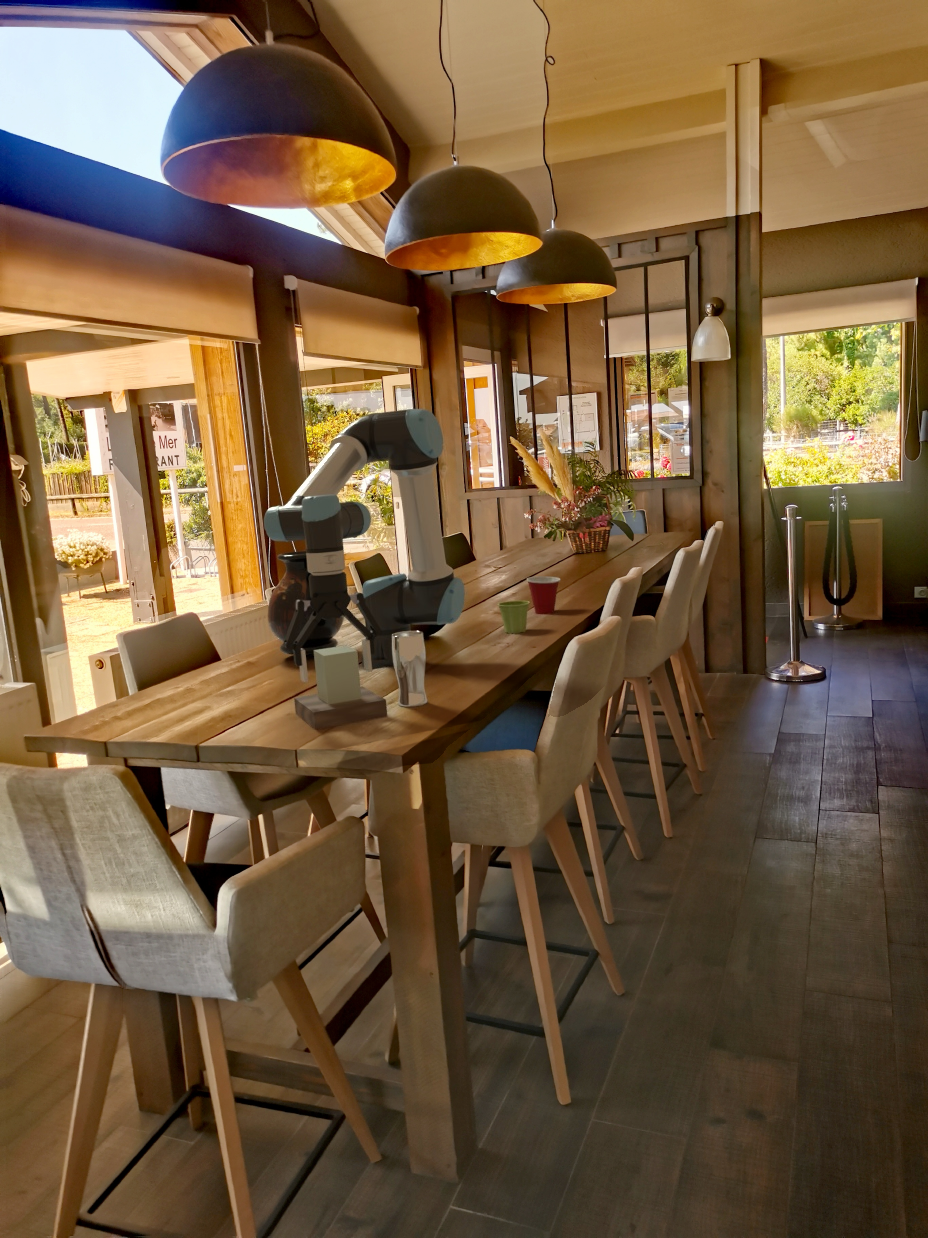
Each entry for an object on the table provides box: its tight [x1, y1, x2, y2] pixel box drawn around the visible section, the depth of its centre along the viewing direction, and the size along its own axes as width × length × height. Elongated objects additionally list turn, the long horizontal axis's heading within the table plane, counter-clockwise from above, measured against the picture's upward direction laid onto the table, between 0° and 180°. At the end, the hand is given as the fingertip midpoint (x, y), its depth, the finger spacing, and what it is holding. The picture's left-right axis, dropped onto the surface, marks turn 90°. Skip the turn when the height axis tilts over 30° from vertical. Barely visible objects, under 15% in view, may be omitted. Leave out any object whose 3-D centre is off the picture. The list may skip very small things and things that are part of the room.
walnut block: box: [293, 685, 388, 730], centre depth 191 cm, size 15×15×4 cm
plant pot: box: [497, 600, 531, 634], centre depth 271 cm, size 9×9×9 cm
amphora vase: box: [267, 550, 345, 656], centre depth 265 cm, size 22×22×28 cm
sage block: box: [313, 645, 361, 705], centre depth 190 cm, size 7×7×10 cm
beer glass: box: [392, 630, 428, 708], centre depth 196 cm, size 7×7×15 cm
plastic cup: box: [526, 575, 561, 615], centre depth 298 cm, size 11×11×12 cm
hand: (336, 676), depth 190 cm, fingers open, 13 cm apart
